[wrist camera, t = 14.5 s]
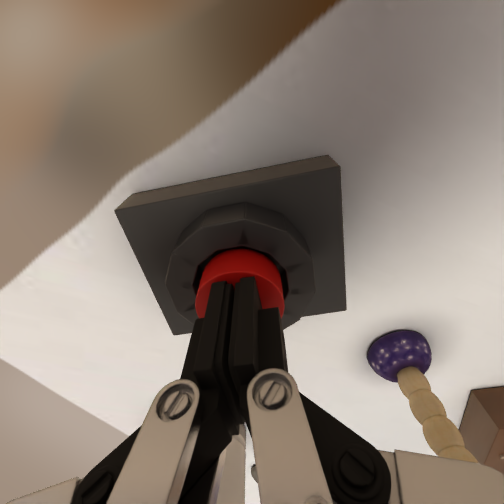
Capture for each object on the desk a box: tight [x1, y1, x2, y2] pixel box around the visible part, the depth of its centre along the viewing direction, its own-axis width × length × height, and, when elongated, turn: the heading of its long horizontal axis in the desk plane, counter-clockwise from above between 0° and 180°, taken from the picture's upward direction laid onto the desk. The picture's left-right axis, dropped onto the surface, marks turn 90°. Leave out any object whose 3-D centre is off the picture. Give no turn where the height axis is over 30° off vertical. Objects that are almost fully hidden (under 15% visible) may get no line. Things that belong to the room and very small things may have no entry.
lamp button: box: [195, 249, 285, 318], centre depth 12 cm, size 4×4×2 cm
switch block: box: [115, 155, 346, 335], centre depth 14 cm, size 10×8×4 cm
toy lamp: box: [367, 330, 478, 463], centre depth 13 cm, size 5×5×17 cm
